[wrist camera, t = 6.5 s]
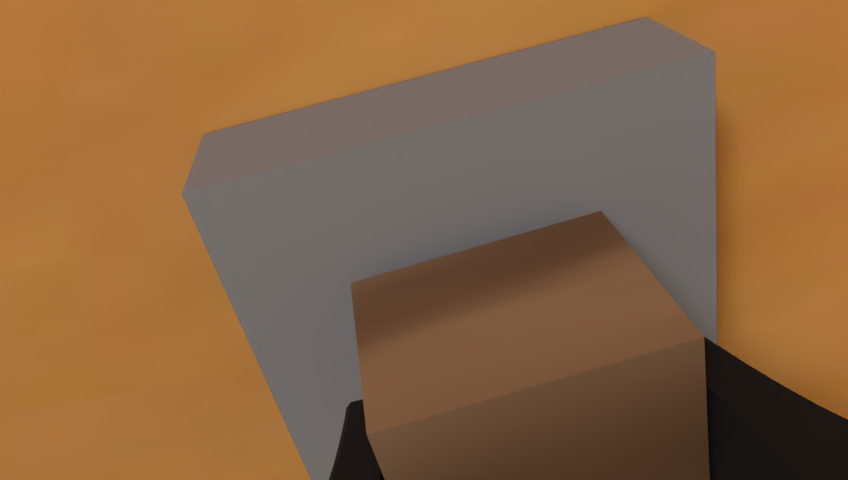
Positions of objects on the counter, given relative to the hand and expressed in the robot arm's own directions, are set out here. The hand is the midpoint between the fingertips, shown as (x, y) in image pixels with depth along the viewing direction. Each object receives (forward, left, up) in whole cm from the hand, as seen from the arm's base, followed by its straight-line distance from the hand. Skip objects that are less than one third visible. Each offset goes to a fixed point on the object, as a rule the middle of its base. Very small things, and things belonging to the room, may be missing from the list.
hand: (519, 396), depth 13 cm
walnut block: (0, 0, -2) cm, 2 cm away
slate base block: (0, 0, -5) cm, 5 cm away
